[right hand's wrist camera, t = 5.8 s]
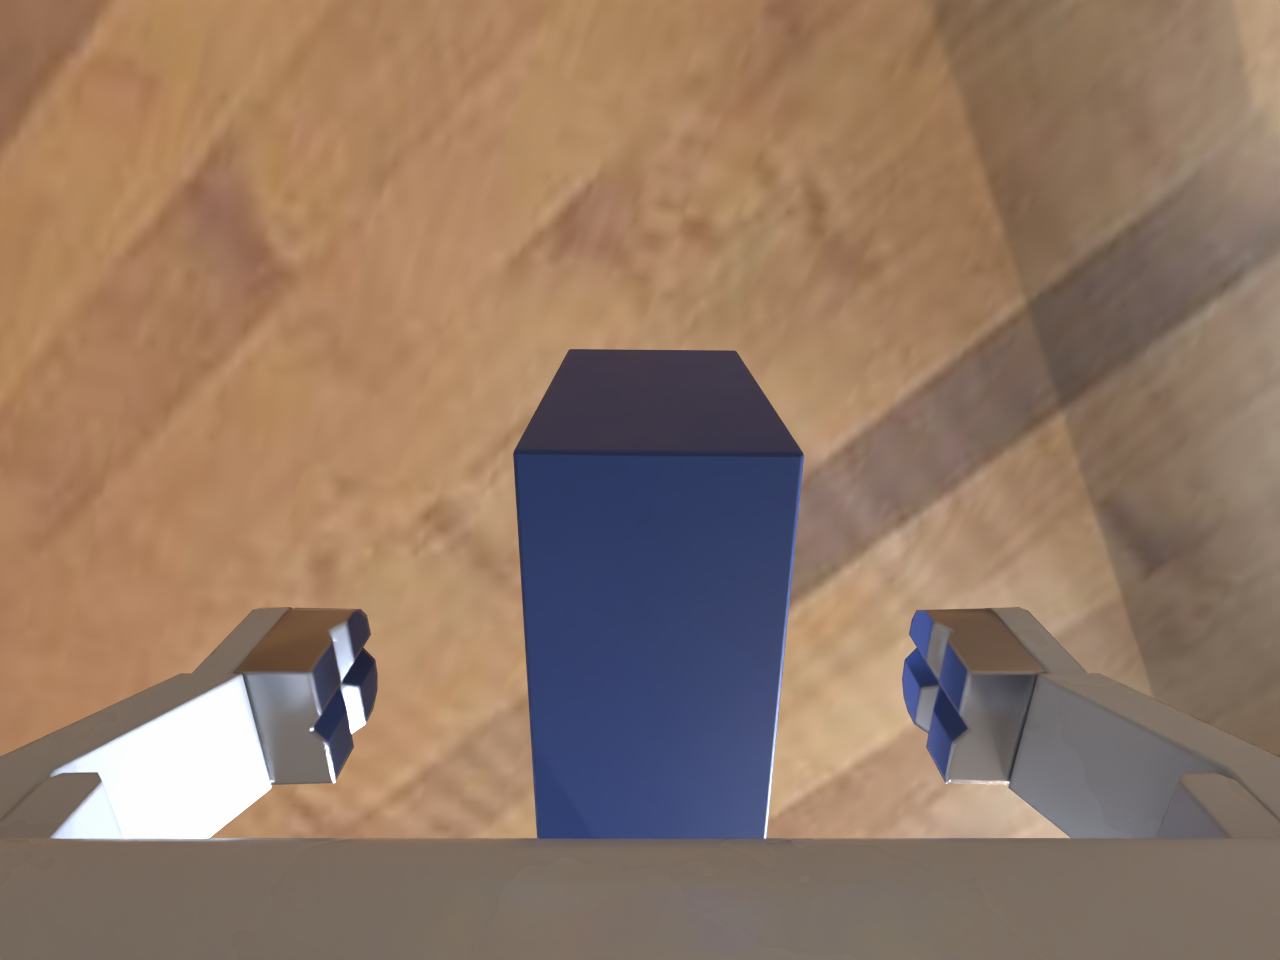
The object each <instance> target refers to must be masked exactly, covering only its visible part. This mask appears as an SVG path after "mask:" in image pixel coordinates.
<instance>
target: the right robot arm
mask: <svg viewBox="0 0 1280 960" xmlns="http://www.w3.org/2000/svg"><path fill="white" fill-rule="evenodd" d="M370 635H371V633H370V628H369V623H368V619H367V615H366V614H365V613H364V612H363V611H362V610H361V609H331V608H291V607H281V608H259V609H254V610H252V611H251V612H250V613H249V614H248V616H247V617H246V618H245V619H244V620H243V621H242V622H241V623H240V624H239V625H238V626H237V627H236V628H235V629H234V630H233V631H232V632H231V633H230V634H229V635H228V636H227V637H226V638H225V639H224V640H223V642H222V643H221V644H220V645H219V646H218V647H217V648H216V649H215V650H214V651H213V652H212V653H211V654H210V655H209V656H208V657H207V658H206V659H205V660H204V661H203V662H202V663H201V664H200V665H199V666H198V668H197V669H196V670H195V671H194V672H193V673H192V674H179V675H176V676H174V677H172V678H170V679H168V680H166V681H163V682H161V683H159V684H157V685H155V686H153V687H150V688H148V689H146V690H144V691H142V692H140V693H137V694H135V695H133V696H131V697H129V698H127V699H124V700H122V701H120V702H118V703H116V704H114V705H111V706H109V707H107V708H105V709H103V710H101V711H98V712H96V713H94V714H92V715H90V716H88V717H85V718H83V719H81V720H79V721H77V722H75V723H72V724H70V725H68V726H66V727H64V728H62V729H59V730H57V731H55V732H53V733H51V734H49V735H46V736H44V737H42V738H40V739H38V740H36V741H33V742H31V743H29V744H27V745H25V746H23V747H20V748H18V749H16V750H14V751H12V752H10V753H7V754H5V755H3V756H1V757H0V960H1280V757H1279V756H1276V755H1274V754H1272V753H1270V752H1268V751H1266V750H1263V749H1261V748H1259V747H1257V746H1255V745H1253V744H1250V743H1248V742H1246V741H1244V740H1242V739H1240V738H1237V737H1235V736H1233V735H1231V734H1229V733H1227V732H1225V731H1222V730H1220V729H1218V728H1216V727H1214V726H1212V725H1209V724H1207V723H1205V722H1203V721H1201V720H1199V719H1196V718H1194V717H1192V716H1190V715H1188V714H1186V713H1184V712H1181V711H1179V710H1177V709H1175V708H1173V707H1171V706H1168V705H1166V704H1164V703H1162V702H1160V701H1158V700H1155V699H1153V698H1151V697H1149V696H1147V695H1145V694H1143V693H1140V692H1138V691H1136V690H1134V689H1132V688H1130V687H1127V686H1125V685H1123V684H1121V683H1119V682H1117V681H1114V680H1112V679H1110V678H1108V677H1106V676H1104V675H1101V674H1088V673H1087V672H1086V671H1085V670H1084V668H1083V667H1082V666H1081V665H1080V664H1079V663H1078V662H1077V661H1076V660H1075V659H1074V658H1073V657H1072V656H1071V655H1070V654H1069V653H1068V652H1067V651H1066V650H1065V649H1064V648H1063V647H1062V646H1061V645H1060V643H1059V642H1058V641H1057V640H1056V639H1055V638H1054V637H1053V636H1052V635H1051V634H1050V633H1049V632H1048V631H1047V630H1046V629H1045V628H1044V627H1043V626H1042V625H1041V624H1040V623H1039V622H1038V621H1037V619H1036V618H1035V617H1034V616H1033V615H1032V614H1031V613H1030V612H1029V611H1028V610H1025V609H1023V608H1020V607H1007V608H985V609H948V610H916V612H915V614H914V616H913V618H912V622H911V627H910V632H909V635H910V637H911V638H912V640H913V642H914V643H915V645H916V647H917V648H916V649H915V650H914V651H913V652H912V653H911V654H910V655H909V656H908V657H907V658H906V659H905V662H904V669H903V677H902V683H903V694H904V700H905V703H906V707H907V710H908V713H909V715H910V717H911V719H912V721H913V723H914V724H915V725H916V726H918V727H919V728H921V729H922V730H924V731H925V732H927V733H928V740H927V745H926V747H927V749H928V751H929V753H930V755H931V757H932V759H933V761H934V762H935V764H936V766H937V768H938V770H939V772H940V774H941V776H942V777H943V779H944V781H945V783H963V784H999V785H1009V787H1008V788H1009V789H1011V790H1012V791H1013V792H1014V793H1016V794H1017V795H1018V796H1019V797H1021V798H1022V799H1023V800H1024V801H1026V802H1027V803H1028V804H1029V805H1031V806H1032V807H1033V808H1034V809H1036V810H1037V811H1038V812H1039V813H1041V814H1042V815H1043V816H1044V817H1046V818H1047V819H1048V820H1049V821H1051V822H1052V823H1053V824H1054V825H1056V826H1057V827H1058V828H1059V829H1061V830H1062V831H1063V832H1064V833H1065V834H1067V835H1068V836H1069V837H1070V838H210V837H211V836H212V835H213V834H215V833H216V832H217V831H218V830H220V829H221V828H222V827H223V826H225V825H226V824H227V823H228V822H230V821H231V820H232V819H233V818H235V817H236V816H237V815H238V814H240V813H241V812H242V811H243V810H245V809H246V808H247V807H248V806H250V805H251V804H252V803H253V802H255V801H256V800H257V799H258V798H260V797H261V796H262V795H263V794H265V793H266V792H267V791H268V790H270V789H271V785H281V784H316V783H335V781H336V779H337V778H338V776H339V774H340V772H341V770H342V768H343V766H344V764H345V763H346V761H347V759H348V757H349V755H350V753H351V751H352V749H353V747H354V745H353V740H352V733H353V732H355V731H356V730H358V729H359V728H361V727H362V726H364V725H365V724H366V723H367V721H368V719H369V717H370V715H371V712H372V710H373V707H374V703H375V698H376V694H377V668H376V661H375V659H374V658H373V657H372V656H371V655H370V654H369V653H368V652H367V651H366V650H365V649H364V648H363V647H364V645H365V643H366V642H367V640H368V638H369V637H370Z"/></svg>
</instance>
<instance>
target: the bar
mask: <svg viewBox="0 0 1280 960" xmlns="http://www.w3.org/2000/svg"><path fill="white" fill-rule="evenodd" d="M513 456H514V472H515V488H516V504H517V520H518V537H519V553H520V569H521V585H522V601H523V617H524V633H525V649H526V666H527V682H528V698H529V714H530V730H531V746H532V762H533V778H534V795H535V811H536V827H537V838H766V835H767V825H768V815H769V805H770V794H771V784H772V774H773V764H774V754H775V744H776V734H777V724H778V713H779V703H780V693H781V683H782V673H783V663H784V653H785V643H786V632H787V622H788V612H789V602H790V592H791V582H792V572H793V562H794V551H795V541H796V531H797V521H798V511H799V501H800V491H801V481H802V470H803V460H804V455H803V452H802V451H801V449H800V448H799V446H798V445H797V443H796V442H795V440H794V438H793V437H792V435H791V434H790V432H789V431H788V429H787V428H786V426H785V425H784V423H783V422H782V420H781V419H780V417H779V416H778V414H777V413H776V411H775V410H774V408H773V407H772V405H771V404H770V402H769V400H768V399H767V397H766V396H765V394H764V393H763V391H762V390H761V388H760V387H759V385H758V384H757V382H756V381H755V379H754V378H753V376H752V375H751V373H750V372H749V370H748V369H747V367H746V365H745V364H744V362H743V361H742V359H741V358H740V356H739V355H738V353H737V352H736V351H706V350H591V349H571V350H569V351H568V353H567V355H566V356H565V358H564V360H563V362H562V364H561V366H560V367H559V369H558V371H557V373H556V375H555V377H554V378H553V380H552V382H551V384H550V386H549V388H548V389H547V391H546V393H545V395H544V397H543V399H542V401H541V402H540V404H539V406H538V408H537V410H536V412H535V413H534V415H533V417H532V419H531V421H530V423H529V424H528V426H527V428H526V430H525V432H524V434H523V436H522V437H521V439H520V441H519V443H518V445H517V447H516V448H515V450H514V453H513Z"/></svg>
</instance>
